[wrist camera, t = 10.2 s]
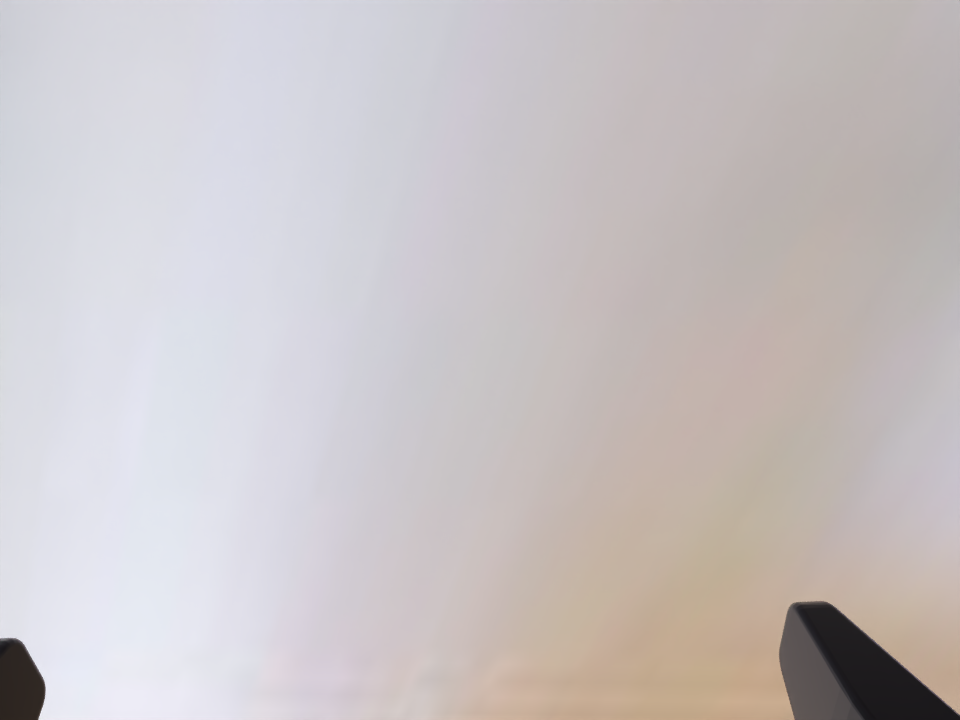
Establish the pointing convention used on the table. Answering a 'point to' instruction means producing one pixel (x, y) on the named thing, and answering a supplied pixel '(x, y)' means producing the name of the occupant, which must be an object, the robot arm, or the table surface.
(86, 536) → the table surface
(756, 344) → the table surface
